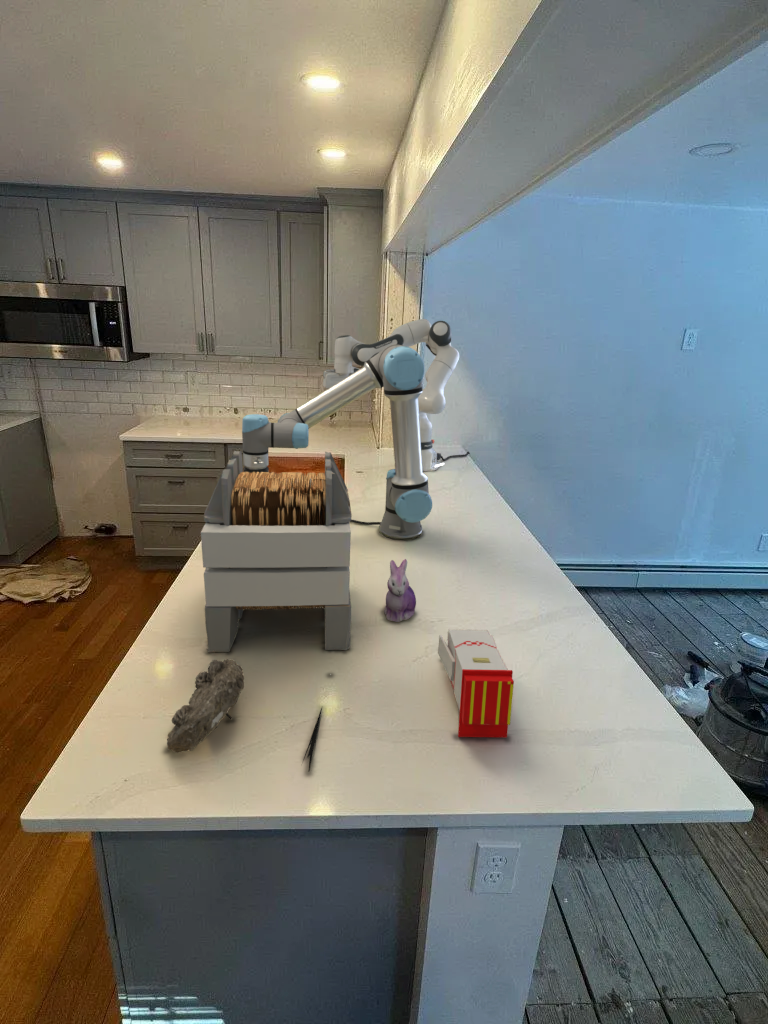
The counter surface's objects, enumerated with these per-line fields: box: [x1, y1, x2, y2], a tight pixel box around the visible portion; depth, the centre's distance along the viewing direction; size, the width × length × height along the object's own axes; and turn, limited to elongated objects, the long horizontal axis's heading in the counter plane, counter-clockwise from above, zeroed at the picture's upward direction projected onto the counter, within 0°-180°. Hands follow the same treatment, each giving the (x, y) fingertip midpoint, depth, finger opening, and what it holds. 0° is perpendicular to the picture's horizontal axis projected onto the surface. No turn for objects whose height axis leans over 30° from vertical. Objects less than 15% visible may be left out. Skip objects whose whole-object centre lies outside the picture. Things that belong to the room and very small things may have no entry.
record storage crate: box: [200, 450, 353, 653], centre depth 138 cm, size 34×33×41 cm
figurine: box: [384, 558, 417, 623], centre depth 145 cm, size 9×10×15 cm
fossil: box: [166, 658, 245, 754], centre depth 106 cm, size 22×10×15 cm
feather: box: [301, 673, 332, 771], centre depth 108 cm, size 2×28×2 cm
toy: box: [437, 628, 515, 738], centre depth 117 cm, size 12×13×30 cm
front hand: (257, 537), depth 179 cm, fingers closed on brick, 4 cm apart
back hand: (342, 397), depth 287 cm, fingers open, 8 cm apart
